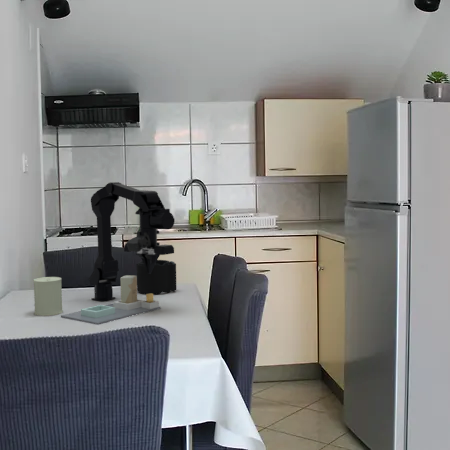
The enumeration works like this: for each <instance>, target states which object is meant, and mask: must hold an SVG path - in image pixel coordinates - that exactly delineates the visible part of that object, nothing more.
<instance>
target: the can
mask: <svg viewBox="0 0 450 450" xmlns="http://www.w3.org/2000/svg"><path fill="white" fill-rule="evenodd" d="M32 280H33V291H34V292H33V294H34V295H33V296H34V297H33V298H34V300H33V301H34V313H33V314H34V315H35V316H39V317H49V316H51V317H52V316H57V315H60V314H61V315H62V313H63V312H64V310H63V297H62V296H63V294H62V293H63V292H62V277H59V276H45V277H38V278H34V279H32Z"/></svg>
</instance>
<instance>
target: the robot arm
mask: <svg viewBox="0 0 450 450" xmlns="http://www.w3.org/2000/svg"><path fill="white" fill-rule="evenodd" d="M120 197H121V198H123V199H126V200H129V201H131V202H132V203H133V205H135V206H136V207H138V210H136V212H135V213H134V214H135V215H139V230H138V231H137V232H136V236H134V237H133V238H131V239H129V240H128V241H126V243H125V244H124V246H123V251H124V252H126V253H127V252H128V253H130V252H134V253H135V255H136V256H138V257H139V258H140V259H141V261H143V263H144V266H145V268H146V271H147V273H148V274H151V272H152V270H153V268H154V266H155V263H156V261H157V260H159V258H160V256H165V255H171V254H175V247H174V245H172V244H160V242H158V234H160V230H171V229H172V228H173V227H174V225H175V217H174V214H173V213H172V212H171V210H170V208H165V207H166V206H165V205H164V204H163V202H162V200H161V198H160V196H159V193H158V192H157V191H155V190H141V189H137V188H134V187H132V186H129V185H126V184H123V183H121V182H119V181H117V182H116V181H115V182H113V181H112V182H108V183H107V184H106V185H104V186H103V187H102V188H100V189H98V190H97V191H95V193H93V194H92V196H91V197H90V204H91V205H90V206H91V211H92V213H94V215H95V217H96V230H97V231H96V233H97V234H96V235H97V254H98V255H97V257H96V259H95V262H94V267H93V271H92V273H91V274H90V275H89V277H88V280H89V284H90V285H93V286H94V287H93V288H94V290H93V291H94V297H91V300H92V301H97V302H105V301H106V302H107V301H110V300H111V301H112V300H115V299H116V297H115V296H113V294H114V293H113V283H116V282H117V278H118V275H119V261H118V260H117V259H115V257H114V256H113V247H112V245H113V244H112V223H111V222H112V221H111V217H112V214H113V213H114V211H115V206H116V202H117V201H118V200H119V199H120Z"/></svg>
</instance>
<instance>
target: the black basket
mask: <svg viewBox="0 0 450 450" xmlns="http://www.w3.org/2000/svg"><path fill="white" fill-rule="evenodd" d="M136 276H137V293H138V292H139V294H142V295H146V294H149V293H152V294H153V296H154V295H160V294H162V293H165V294H168V293H170V292H173V293H175V292H176V291H177V263H175V261H170V260H164V259H157V261H156V263H155V266H154V268H153V270H152V272H151V274H148V273H147V271H146V268H145V266H144V263H143V261H142V260H141V261H138V262H137V263H136Z"/></svg>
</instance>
